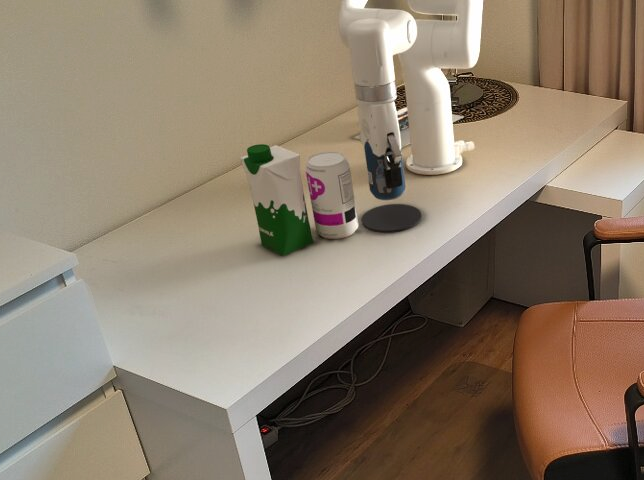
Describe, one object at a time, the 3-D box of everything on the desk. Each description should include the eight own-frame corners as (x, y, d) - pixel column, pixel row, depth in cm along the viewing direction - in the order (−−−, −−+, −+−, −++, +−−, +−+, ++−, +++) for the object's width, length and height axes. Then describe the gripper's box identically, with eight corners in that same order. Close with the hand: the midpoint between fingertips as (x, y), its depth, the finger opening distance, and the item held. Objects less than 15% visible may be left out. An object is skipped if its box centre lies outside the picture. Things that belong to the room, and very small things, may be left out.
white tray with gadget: (353, 137, 220) (350, 120, 217) (420, 106, 237) (418, 90, 234) (398, 149, 213) (396, 131, 210) (464, 116, 230) (463, 100, 227)
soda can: (397, 184, 183) (390, 126, 176) (411, 196, 178) (405, 137, 171) (365, 192, 180) (357, 134, 173) (379, 204, 175) (371, 145, 168)
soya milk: (254, 245, 174) (232, 146, 163) (294, 229, 179) (275, 132, 168) (281, 259, 169) (261, 158, 158) (321, 242, 174) (303, 143, 163)
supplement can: (327, 244, 173) (315, 171, 165) (309, 229, 179) (296, 157, 171) (366, 232, 177) (355, 160, 169) (347, 217, 183) (336, 147, 175)
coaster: (407, 201, 189) (407, 199, 188) (431, 222, 180) (431, 220, 180) (352, 215, 184) (352, 213, 183) (375, 238, 175) (374, 235, 175)
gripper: (339, 81, 172) (352, 169, 182) (374, 107, 159) (386, 200, 169) (376, 74, 175) (387, 161, 185) (413, 99, 163) (422, 191, 172)
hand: (386, 179), depth 177 cm, fingers closed on soda can, 7 cm apart
